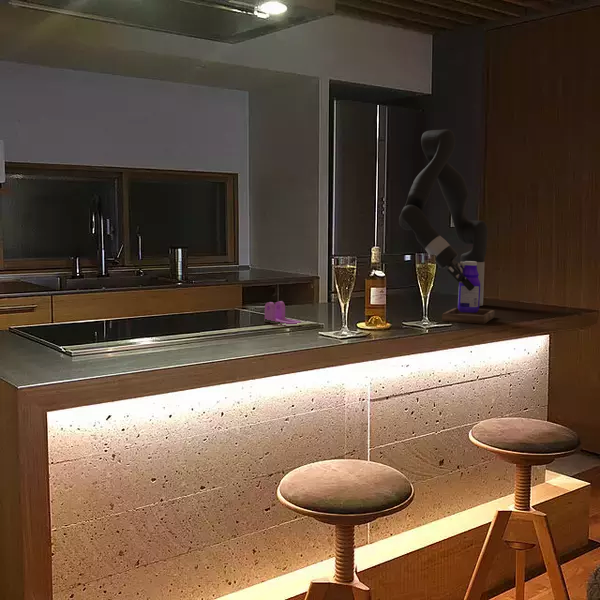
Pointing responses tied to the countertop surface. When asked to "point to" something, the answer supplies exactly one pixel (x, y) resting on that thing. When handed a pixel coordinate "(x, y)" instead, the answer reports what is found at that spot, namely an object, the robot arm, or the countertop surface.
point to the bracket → (277, 313)
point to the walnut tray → (468, 316)
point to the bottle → (466, 298)
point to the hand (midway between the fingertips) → (474, 288)
